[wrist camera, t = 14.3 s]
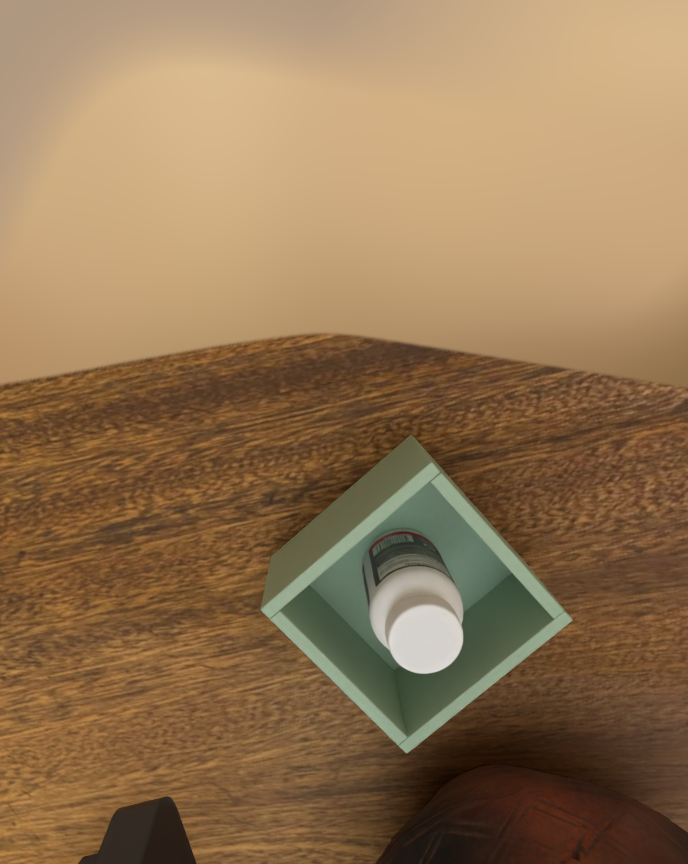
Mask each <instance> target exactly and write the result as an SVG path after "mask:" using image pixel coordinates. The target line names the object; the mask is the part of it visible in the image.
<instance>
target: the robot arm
mask: <svg viewBox="0 0 688 864" xmlns="http://www.w3.org/2000/svg"><path fill="white" fill-rule="evenodd" d="M78 864H196V861H195V858H194V855H193V853H192V850H191V847H190V844H189V841H188V838H187V835H186V833H185V830H184V827H183V824H182V821H181V818H180V816H179V813H178V810H177V807H176V805H175V803H174V801H173V800H172V799H171V798H170V797H163V798H159V799H155V800H151V801H146V802H142V803H138V804H134V805H130V806H126V807H122V808H119V809H118V810H117V811H116V812H115V813H114V815H113V817H112V819H111V822H110V824H109V827H108V829H107V832H106V834H105V837H104V839H103V842H102V845H101V847H100V850H99V852H98V854H93V855H89V856H85V857H83V858H82V859H81V861H80V862H79V863H78Z"/></svg>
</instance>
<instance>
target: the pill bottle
mask: <svg viewBox="0 0 688 864" xmlns="http://www.w3.org/2000/svg"><path fill="white" fill-rule="evenodd" d="M362 574H363V581H364V586H365V591H366V597H367V603H368V609H369V617H370V622H371V626H372V628H373V631H374V633H375V635H376V636H377V638H378V639H379V641H380V642H381V643H382V644H383V645H384V646H385V647H386V648H387V649H389V650H390V652H391V654H392V656H393V658H394V659H395V661H396V662H397V663H398V664H399V665H400V666H402V667H403V668H405V669H407V670H409V671H411V672H414V673H421V674H428V673H434V672H437V671H440V670H442V669H444V668H446V667H447V666H449V665H450V664H451V663H452V662H453V661H454V660H455V659H456V658H457V656H458V654H459V653H460V650H461V648H462V644H463V630H462V626H461V625H462V621H463V603H462V598H461V595H460V593H459V590H458V588H457V586H456V584H455V582H454V580H453V579H452V577H451V575H450V573H449V571H448V569H447V567H446V565H445V563H444V561H443V559H442V557H441V555H440V553H439V551H438V550H437V548H436V546H435V545H434V544H433V542H432V541H431V540H430V539H429V538H427V537H426V536H424V535H423V534H421V533H420V532H417V531H414V530H409V529H396V530H391V531H388V532H386V533H384V534H382V535H380V536H379V537H377V538H376V539H375V540H374V541H373V542H372V543H371V544H370V545H369V547H368V548H367V550H366V552H365V554H364V557H363V562H362Z"/></svg>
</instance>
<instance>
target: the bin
mask: <svg viewBox="0 0 688 864" xmlns="http://www.w3.org/2000/svg"><path fill="white" fill-rule="evenodd" d="M396 529H409V530H414V531H417V532H420V533H421V534H423V535H424V536H426V537H427V538H429V539H430V540H431V541H432V542H433V544H434V545H435V546H436V548H437V550H438V551H439V553H440V555H441V557H442V559H443V561H444V563H445V565H446V567H447V569H448V571H449V573H450V575H451V577H452V579H453V580H454V582H455V584H456V586H457V588H458V590H459V593H460V595H461V598H462V603H463V621H462V625H461V626H462V630H463V644H462V648H461V650H460V653H459V654H458V656H457V658H456V659H455V660H454V661H453V662H452V663H451V664H450V665H449V666H447V667H446V668H444V669H442V670H440V671H437V672H434V673H428V674H421V673H414V672H411V671H409V670H407V669H405V668H403V667H402V666H400V665H399V664H398V663H397V662H396V661H395V659H394V658H393V656H392V654H391V652H390V650H389V649H387V648H386V647H385V646H384V645H383V644H382V643H381V642H380V641H379V639H378V638H377V636H376V635H375V633H374V631H373V628H372V626H371V622H370V617H369V609H368V603H367V597H366V591H365V586H364V581H363V574H362V562H363V557H364V554H365V552H366V550H367V548H368V547H369V545H370V544H371V543H372V542H373V541H374V540H375V539H376V538H377V537H379V536H380V535H382V534H384V533H386V532H388V531H391V530H396ZM261 611H262V612H263V613H264V614H265V615H266V616H267V617H268V618H270V619H271V621H272V622H273V623H274V624H275V625H276V626H277V627H278V628H279V629H280V630H281V631H282V632H283V633H284V634H285V635H286V636H287V637H288V638H289V639H291V640H292V641H293V642H294V643H295V644H296V645H297V646H298V647H299V648H300V649H301V650H302V651H303V652H304V653H305V654H306V655H307V656H308V657H309V658H310V659H311V660H312V661H313V662H314V663H315V664H316V665H317V666H318V667H319V668H320V669H321V670H322V671H323V672H324V673H325V674H326V675H327V676H328V677H329V678H330V679H331V680H332V681H333V682H334V683H335V684H336V685H337V686H338V687H339V688H340V689H341V690H342V691H343V692H344V693H345V694H346V695H347V696H348V697H349V698H350V699H351V700H352V701H353V702H354V703H355V704H356V705H357V706H358V707H359V708H361V709H362V710H363V711H364V712H365V713H366V714H367V715H368V716H369V717H370V718H371V719H372V720H373V721H374V722H375V723H376V724H377V725H378V726H379V727H380V728H381V729H382V730H383V731H384V732H385V733H386V734H387V735H388V736H389V737H390V738H391V739H392V740H393V741H394V742H395V743H396V744H397V745H398V746H399V747H400V748H401V749H402V750H403V751H404V752H405V753H406V754H407V753H409V752H410V751H411V750H412V749H413V748H415V747H416V746H417V745H418V744H420V743H421V742H422V741H423V740H425V739H426V738H427V737H428V736H430V735H431V734H432V733H433V732H435V731H436V730H437V729H438V728H440V727H441V726H442V725H443V724H445V723H446V722H447V721H448V720H450V719H451V718H452V717H453V716H455V715H456V714H457V713H458V712H459V711H461V710H462V709H463V708H464V707H466V706H467V705H468V704H469V703H471V702H472V701H473V700H474V699H476V698H477V697H478V696H479V695H481V694H482V693H483V692H484V691H486V690H487V689H488V688H489V687H491V686H492V685H493V684H494V683H496V682H497V681H498V680H499V679H500V678H502V677H503V676H504V675H505V674H507V673H508V672H509V671H510V670H512V669H513V668H514V667H515V666H517V665H518V664H519V663H520V662H522V661H523V660H524V659H525V658H527V657H528V656H529V655H530V654H532V653H533V652H534V651H535V650H537V649H538V648H539V647H540V646H541V645H543V644H544V643H545V642H546V641H548V640H549V639H550V638H551V637H553V636H554V635H555V634H556V633H558V632H559V631H560V630H561V629H563V628H564V627H565V626H566V625H568V624H569V623H570V622H571V621H572V618H571V617H570V616H569V614H568V613H567V612H566V611H565V610H564V608H563V607H562V606H561V605H560V603H559V602H558V601H557V600H556V599H555V597H554V596H553V595H552V594H551V592H550V591H549V590H548V589H547V588H546V586H545V585H544V584H543V583H542V582H541V580H540V579H539V578H538V577H537V575H536V574H535V573H534V572H533V571H532V569H531V568H530V567H529V566H528V565H527V563H526V562H525V561H524V560H523V559H522V558H521V557H520V556H519V554H518V553H517V552H516V551H515V550H514V549H513V548H512V547H511V546H510V544H509V543H508V542H507V541H506V540H505V539H504V538H503V537H502V535H501V534H500V533H499V532H498V531H497V530H496V529H495V528H494V526H493V525H492V524H491V523H490V522H489V521H488V520H487V519H486V517H485V516H484V515H483V514H482V513H481V512H480V511H479V510H478V509H477V507H476V506H475V505H474V504H473V503H472V502H471V501H470V500H469V498H468V497H467V496H466V495H465V494H464V493H463V492H462V491H461V489H460V488H459V487H458V486H457V485H456V484H455V483H454V482H453V480H452V479H451V478H450V477H449V476H448V475H447V474H446V473H445V472H444V470H443V469H442V468H441V467H440V466H439V465H438V464H437V463H436V461H435V460H434V459H433V458H432V457H431V456H430V455H429V454H428V452H427V451H426V450H425V449H424V448H423V447H422V446H421V445H420V443H419V442H418V441H417V440H416V439H415V438H414V437H413V436H412V435H410V436H409V437H407V438H406V439H405V440H404V441H403V442H402V443H400V444H399V445H398V446H397V447H396V448H395V449H394V450H392V451H391V452H390V453H389V454H388V455H387V456H386V457H384V458H383V459H382V460H381V461H380V462H379V463H378V464H376V465H375V466H374V467H373V468H372V469H371V470H370V471H368V472H367V473H366V474H365V475H364V476H363V477H362V478H360V479H359V480H358V481H357V482H356V483H355V484H353V485H352V486H351V487H350V488H349V489H348V490H347V491H345V492H344V493H343V494H342V495H341V496H340V497H339V498H337V499H336V500H335V501H334V502H333V503H332V504H331V505H329V506H328V507H327V508H326V509H325V510H324V511H323V512H321V513H320V514H319V515H318V516H317V517H316V518H314V519H313V520H312V521H311V522H310V523H309V524H308V525H306V526H305V527H304V528H303V529H302V530H301V531H300V532H298V533H297V534H296V535H295V536H294V537H293V538H292V539H290V540H289V541H288V542H287V543H286V544H285V545H284V546H282V547H281V548H280V549H279V550H278V551H277V552H276V553H274V554H273V555H272V556H271V558H270V564H269V569H268V574H267V579H266V584H265V589H264V594H263V599H262V604H261Z"/></svg>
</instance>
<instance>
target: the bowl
mask: <svg viewBox="0 0 688 864" xmlns="http://www.w3.org/2000/svg"><path fill="white" fill-rule="evenodd" d="M376 864H688V832H686V831H685V830H683V829H682V828H680V827H679V826H677V825H676V824H675V823H673V822H672V821H670V820H669V819H668V818H666V817H665V816H663V815H662V814H660V813H658V812H656V811H654V810H652V809H650V808H649V807H647V806H645V805H643V804H642V803H640V802H638V801H637V800H635V799H632V798H629V797H627V796H624V795H622V794H619V793H616V792H614V791H611V790H608V789H606V788H603V787H601V786H598V785H595V784H593V783H589V782H585V781H581V780H578V779H569V778H568V777H564V776H559V775H553V774H547V773H544V772H540V771H537V770H534V769H530V768H527V767H514V766H512V765H497V764H495V765H489V766H483V767H478V768H475V769H473V770H470V771H468V772H465V773H463V774H461V775H459V776H457V777H455V778H454V779H452V780H450V781H448V782H447V783H446V784H445V785H444V786H443V787H442V788H440V789H439V790H438V792H437V793H436V794H435V795H434V797H433V798H432V799H431V800H430V801H429V802H428V804H427V805H426V806H425V807H424V808H423V809H422V810H421V811H420V812H418V813H417V814H416V815H415V816H414V817H413V818H412V819H411V820H410V821H409V822H408V823H407V824H406V825H405V826H404V827H403V828H402V829H401V830H400V831H399V832H398V833H397V834H396V835H395V836H394V837H392V839H391V842H390V844H389V845H388V846H387V848H386V849H385V851H384V853H383V854H382V856H381V857H380V858H379V859H378V861H377V863H376Z"/></svg>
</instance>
